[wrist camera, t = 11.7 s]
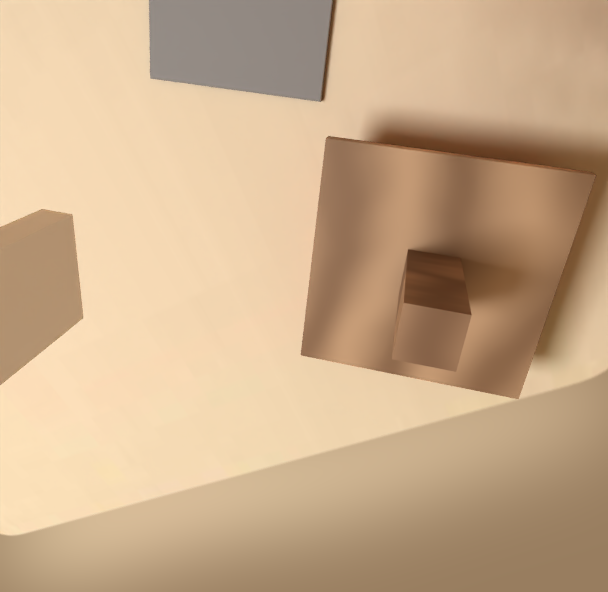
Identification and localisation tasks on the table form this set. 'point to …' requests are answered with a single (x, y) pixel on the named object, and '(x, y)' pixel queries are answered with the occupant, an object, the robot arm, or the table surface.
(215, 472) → the table surface
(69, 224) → the robot arm
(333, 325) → the lid
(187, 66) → the mat
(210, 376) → the table surface
